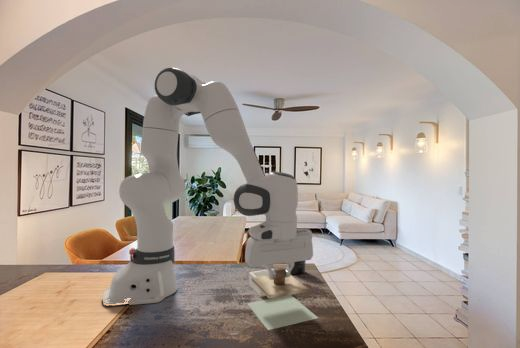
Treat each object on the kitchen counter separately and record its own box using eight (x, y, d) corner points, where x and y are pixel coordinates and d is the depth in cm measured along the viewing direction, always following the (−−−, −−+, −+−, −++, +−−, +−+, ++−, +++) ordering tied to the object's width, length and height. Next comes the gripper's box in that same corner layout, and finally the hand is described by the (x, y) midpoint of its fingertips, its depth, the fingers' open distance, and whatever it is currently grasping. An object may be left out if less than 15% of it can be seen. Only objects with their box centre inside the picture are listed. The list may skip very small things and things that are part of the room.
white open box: (260, 298, 89) (260, 283, 89) (248, 286, 98) (249, 272, 98) (288, 293, 93) (288, 278, 93) (274, 282, 102) (274, 268, 102)
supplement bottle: (305, 276, 107) (305, 244, 107) (287, 274, 109) (287, 243, 108) (305, 269, 114) (306, 240, 114) (288, 268, 115) (289, 239, 115)
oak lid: (269, 298, 73) (269, 280, 72) (251, 280, 84) (252, 264, 83) (308, 291, 77) (309, 274, 77) (287, 275, 88) (288, 260, 88)
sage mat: (268, 331, 71) (268, 330, 71) (246, 304, 84) (246, 303, 84) (318, 319, 76) (318, 317, 76) (290, 296, 90) (290, 294, 90)
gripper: (306, 225, 87) (304, 269, 87) (243, 229, 79) (242, 278, 79) (318, 229, 81) (316, 277, 82) (252, 234, 73) (250, 287, 73)
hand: (279, 277), depth 80 cm, fingers closed on oak lid, 3 cm apart
